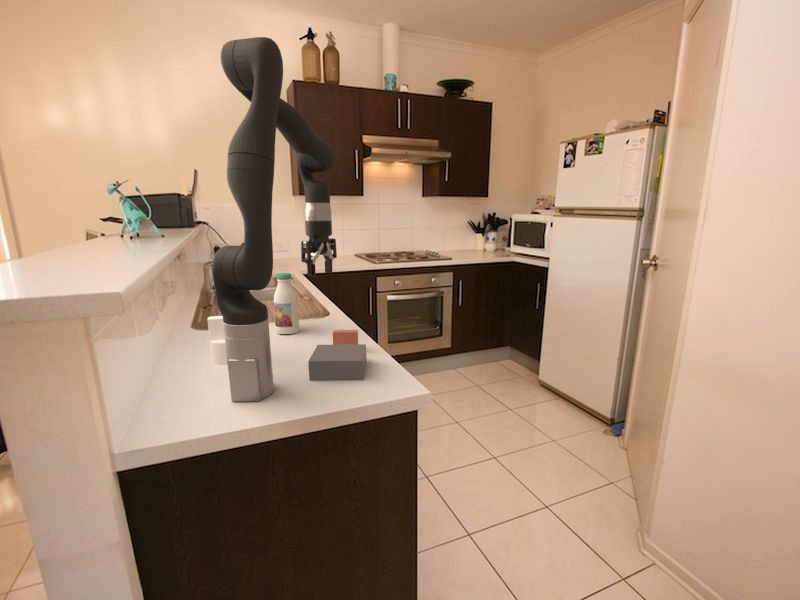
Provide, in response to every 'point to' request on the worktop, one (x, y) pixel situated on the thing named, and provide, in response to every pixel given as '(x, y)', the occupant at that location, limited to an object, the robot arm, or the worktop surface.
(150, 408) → the worktop surface
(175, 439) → the worktop surface
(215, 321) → the base with upright slab
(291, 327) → the milk bottle
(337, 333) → the peach l-shaped block
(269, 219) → the robot arm
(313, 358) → the grey square block
